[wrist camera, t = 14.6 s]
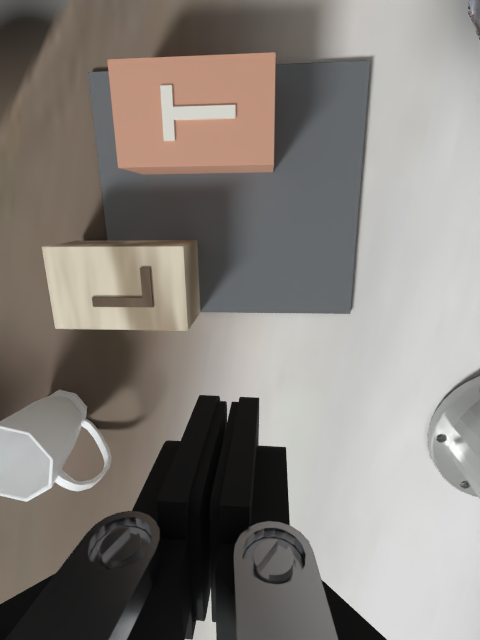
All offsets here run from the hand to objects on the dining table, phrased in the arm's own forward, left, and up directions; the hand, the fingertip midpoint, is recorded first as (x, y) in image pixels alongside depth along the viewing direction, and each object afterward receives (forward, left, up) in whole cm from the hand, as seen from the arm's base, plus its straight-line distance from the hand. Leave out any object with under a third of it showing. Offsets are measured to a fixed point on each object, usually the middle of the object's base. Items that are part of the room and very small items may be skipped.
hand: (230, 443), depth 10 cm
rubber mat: (+2, -7, -21) cm, 23 cm away
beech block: (+5, -1, -19) cm, 19 cm away
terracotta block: (-1, -12, -19) cm, 22 cm away
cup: (+17, +13, -22) cm, 31 cm away
